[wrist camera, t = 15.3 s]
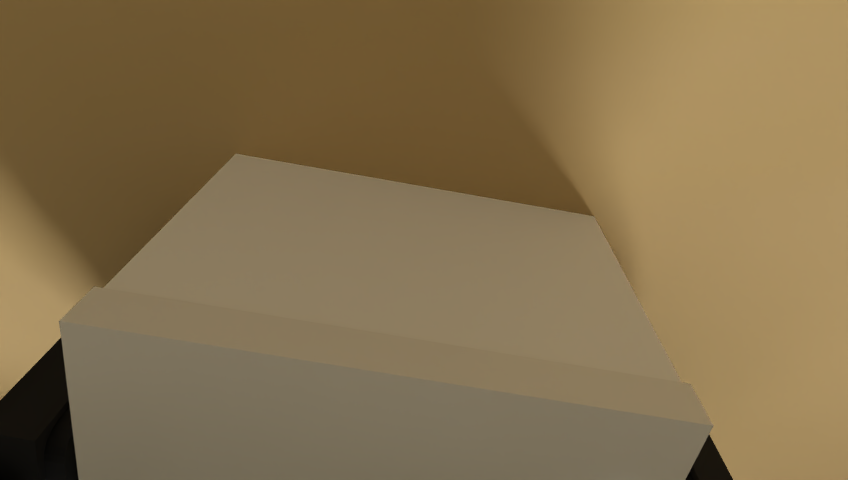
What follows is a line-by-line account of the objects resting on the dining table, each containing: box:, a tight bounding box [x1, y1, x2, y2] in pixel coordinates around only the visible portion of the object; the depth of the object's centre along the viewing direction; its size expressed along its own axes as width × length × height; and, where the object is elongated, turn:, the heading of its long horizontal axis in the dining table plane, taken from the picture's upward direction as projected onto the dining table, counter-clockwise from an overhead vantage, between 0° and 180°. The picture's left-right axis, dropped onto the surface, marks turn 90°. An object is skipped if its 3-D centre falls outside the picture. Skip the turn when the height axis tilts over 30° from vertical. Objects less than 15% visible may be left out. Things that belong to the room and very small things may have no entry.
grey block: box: [59, 154, 713, 480], centre depth 9 cm, size 6×6×5 cm
